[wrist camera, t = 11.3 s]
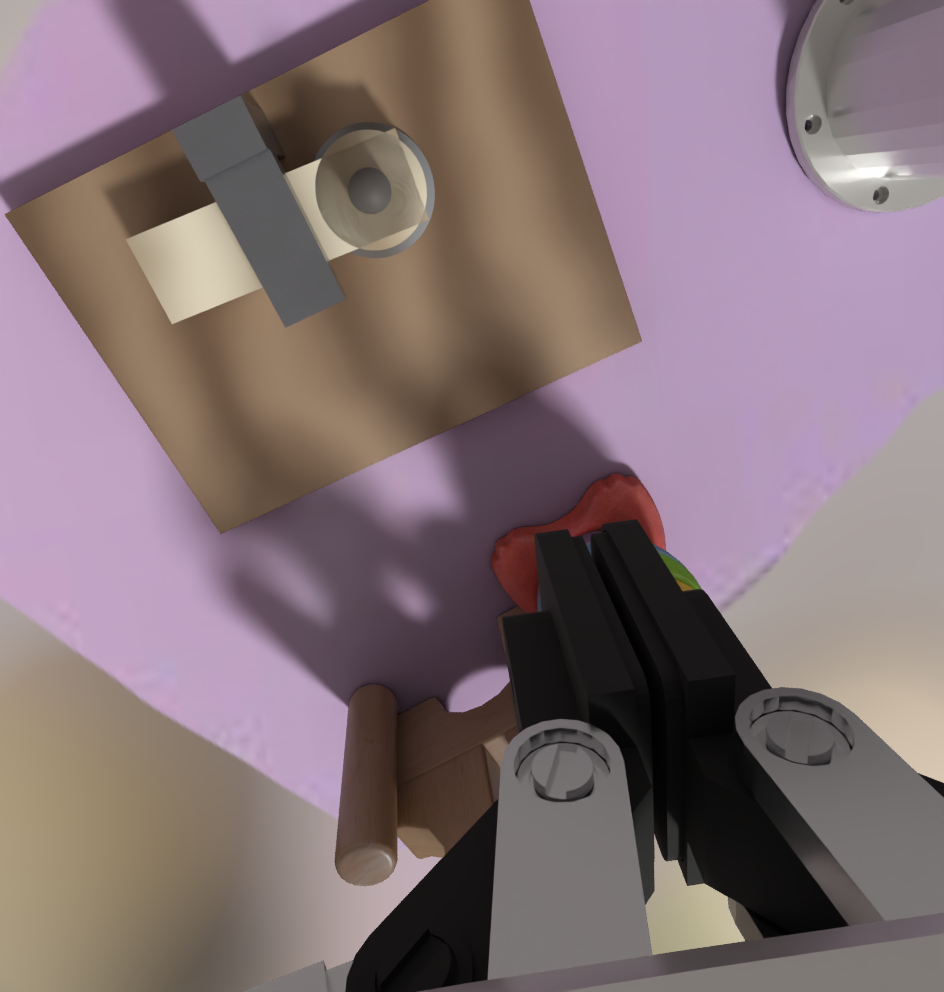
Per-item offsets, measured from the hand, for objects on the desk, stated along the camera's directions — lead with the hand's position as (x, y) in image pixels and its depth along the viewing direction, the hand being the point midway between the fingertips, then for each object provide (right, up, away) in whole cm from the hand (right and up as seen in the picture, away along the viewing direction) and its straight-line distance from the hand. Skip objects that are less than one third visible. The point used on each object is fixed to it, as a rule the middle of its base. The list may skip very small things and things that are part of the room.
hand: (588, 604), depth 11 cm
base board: (-8, +13, +25) cm, 29 cm away
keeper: (-11, +15, +22) cm, 29 cm away
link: (-11, +15, +22) cm, 28 cm away
